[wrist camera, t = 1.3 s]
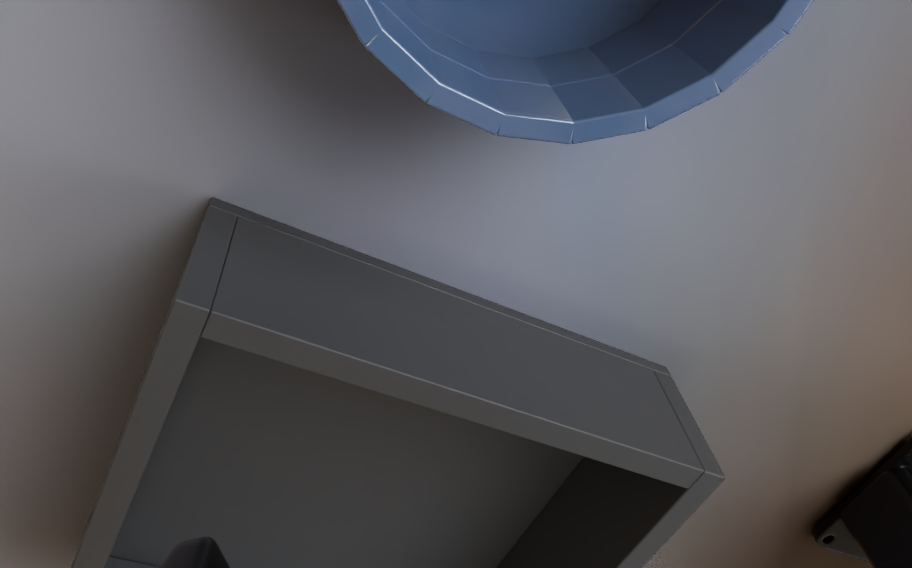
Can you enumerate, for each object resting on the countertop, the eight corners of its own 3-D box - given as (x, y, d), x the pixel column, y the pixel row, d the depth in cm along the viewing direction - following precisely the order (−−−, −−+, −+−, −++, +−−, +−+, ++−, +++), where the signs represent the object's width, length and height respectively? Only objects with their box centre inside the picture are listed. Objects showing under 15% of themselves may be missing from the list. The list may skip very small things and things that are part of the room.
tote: (667, 366, 26) (727, 478, 21) (456, 628, 32) (471, 751, 28) (211, 195, 20) (173, 298, 16) (77, 550, 27) (26, 686, 23)
